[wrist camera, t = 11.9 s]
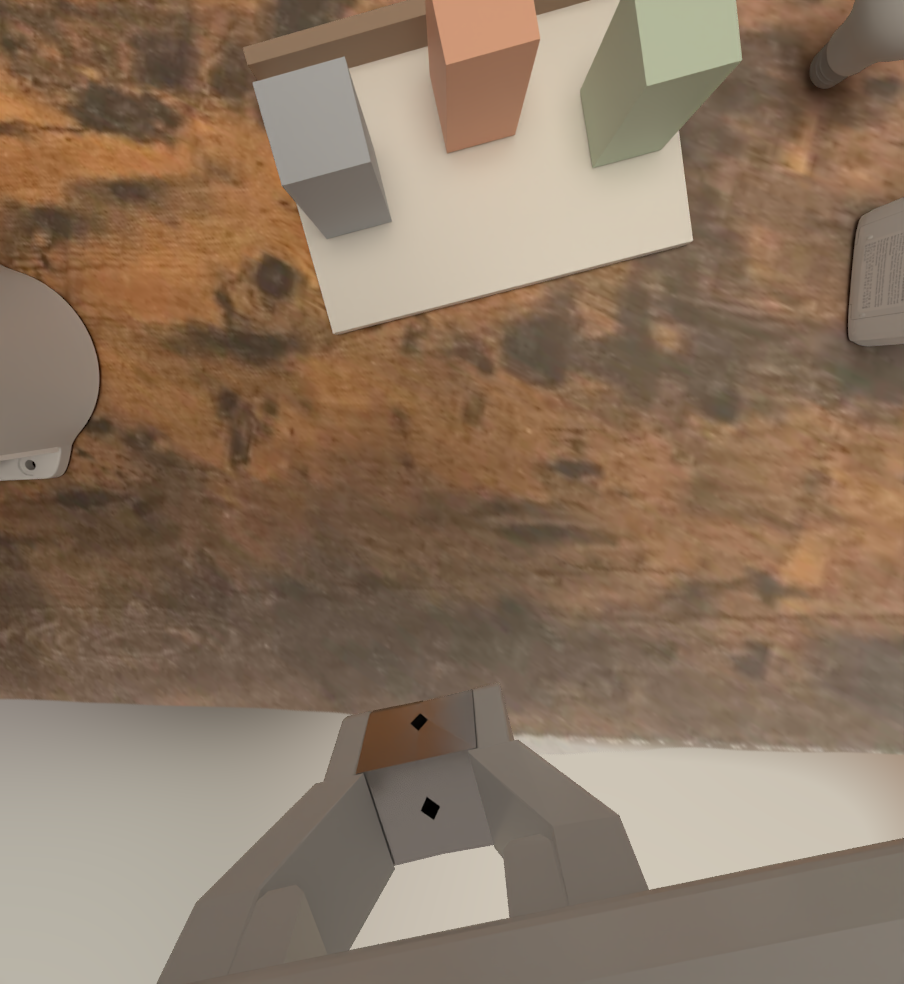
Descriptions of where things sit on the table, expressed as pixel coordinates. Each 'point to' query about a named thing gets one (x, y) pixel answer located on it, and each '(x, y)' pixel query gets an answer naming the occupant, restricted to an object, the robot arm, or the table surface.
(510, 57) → the terracotta rectangular block
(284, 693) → the table surface
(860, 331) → the photo printer
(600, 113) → the sage green block
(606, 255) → the cream board with rail
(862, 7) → the lightbulb
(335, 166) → the blue-grey block
